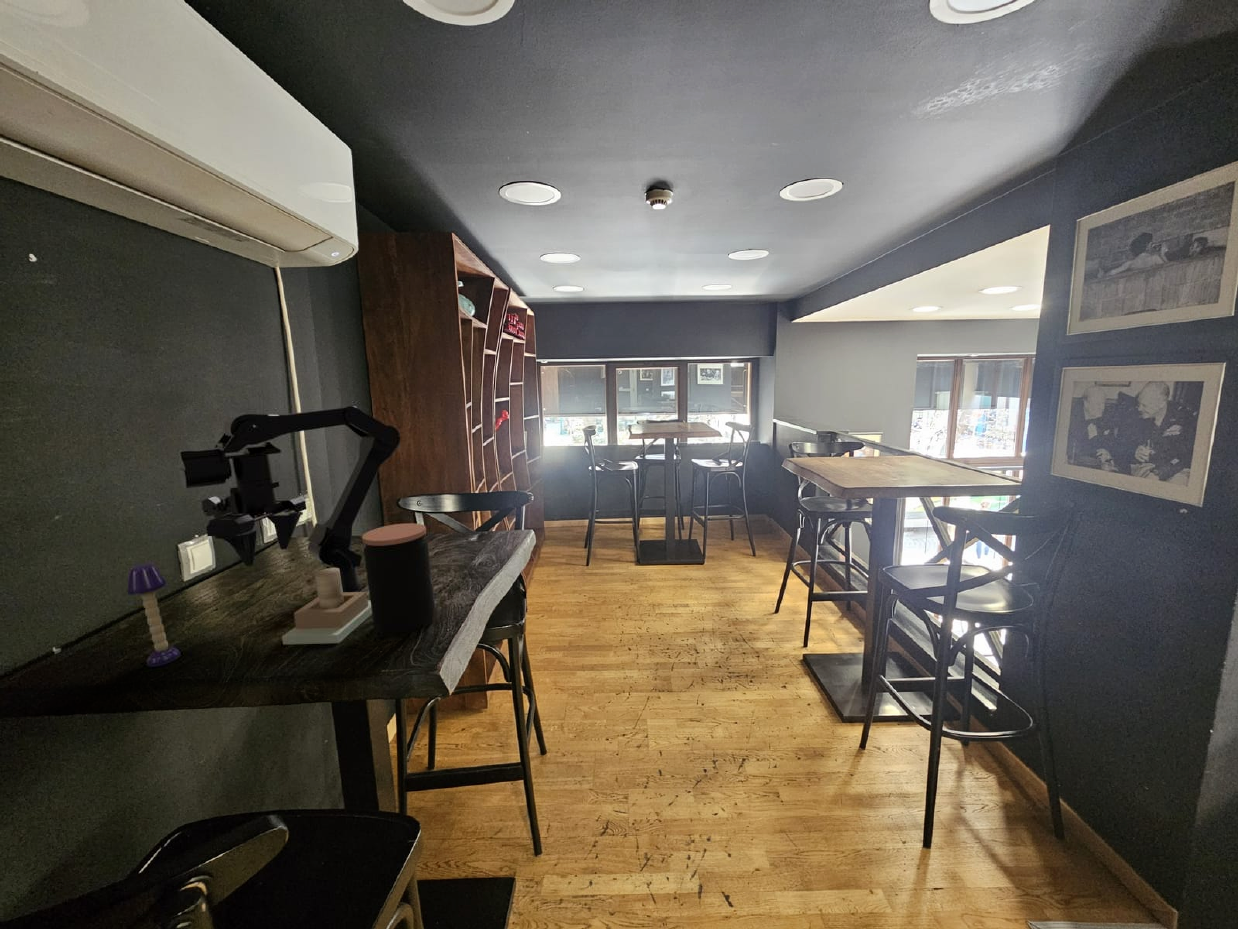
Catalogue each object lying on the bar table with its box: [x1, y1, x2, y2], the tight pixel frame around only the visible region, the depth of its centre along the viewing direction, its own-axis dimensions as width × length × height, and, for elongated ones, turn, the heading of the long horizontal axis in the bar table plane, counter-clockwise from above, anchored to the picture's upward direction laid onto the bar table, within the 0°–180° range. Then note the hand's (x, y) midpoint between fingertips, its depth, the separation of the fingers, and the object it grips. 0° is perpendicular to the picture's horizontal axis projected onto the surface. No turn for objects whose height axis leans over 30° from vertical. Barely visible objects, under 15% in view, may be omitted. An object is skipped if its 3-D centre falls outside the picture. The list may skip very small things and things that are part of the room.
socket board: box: [281, 591, 372, 645], centre depth 92 cm, size 14×10×4 cm
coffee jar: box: [361, 522, 436, 637], centre depth 90 cm, size 11×11×18 cm
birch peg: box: [314, 568, 344, 609], centre depth 92 cm, size 4×4×9 cm
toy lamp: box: [126, 562, 181, 668], centre depth 81 cm, size 5×5×17 cm
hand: (267, 557), depth 96 cm, fingers open, 9 cm apart
